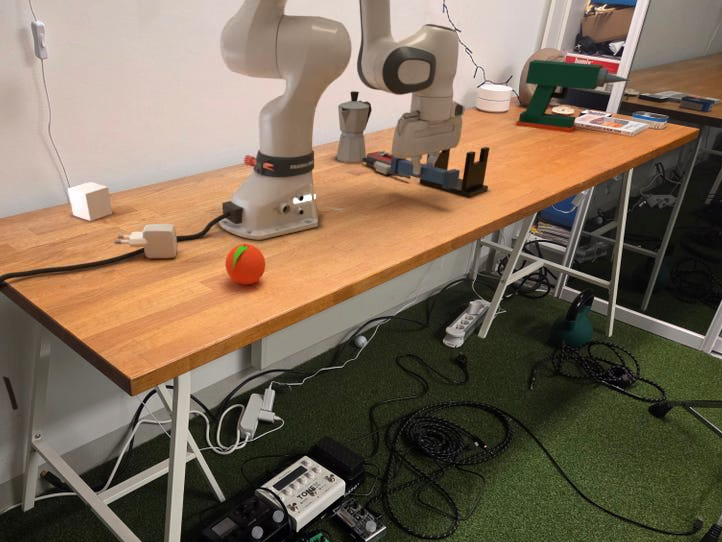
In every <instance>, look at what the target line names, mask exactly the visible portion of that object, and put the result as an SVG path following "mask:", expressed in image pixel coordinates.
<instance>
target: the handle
mask: <svg viewBox="0 0 722 542" xmlns="http://www.w3.org/2000/svg"><path fill="white" fill-rule="evenodd" d="M421 166H424V167H423V173H422V174H419V175H416V174H413V164H412V161H411V160H409V159H401V158H397V157H393V158H391V168H390V173H392V174H391V175H394V174H399V173H402V174H406V175H409V176H410V177H413V178H417V179H419V180H420V179H424V180H427V181H431V182H435V183H438V184H442V188H445V189H450V188H454V187H457V186H458V179H460V173H461V171H460V170H459V169H456V168H452V169H447V170H444V169H441V168H437V167H433V166H429V165H425V163H421Z"/></svg>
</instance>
